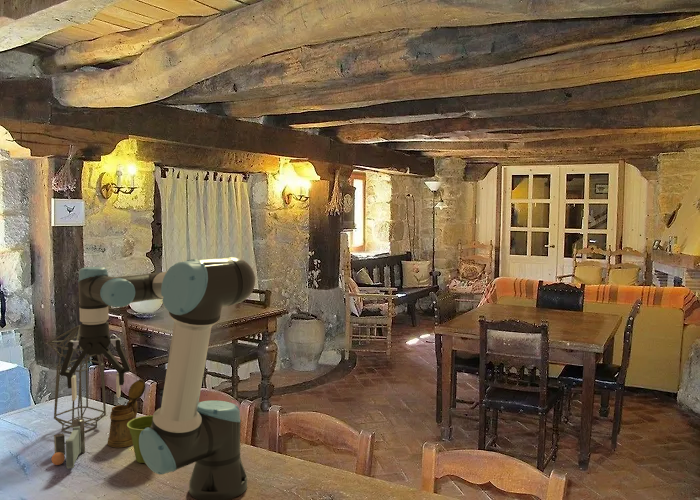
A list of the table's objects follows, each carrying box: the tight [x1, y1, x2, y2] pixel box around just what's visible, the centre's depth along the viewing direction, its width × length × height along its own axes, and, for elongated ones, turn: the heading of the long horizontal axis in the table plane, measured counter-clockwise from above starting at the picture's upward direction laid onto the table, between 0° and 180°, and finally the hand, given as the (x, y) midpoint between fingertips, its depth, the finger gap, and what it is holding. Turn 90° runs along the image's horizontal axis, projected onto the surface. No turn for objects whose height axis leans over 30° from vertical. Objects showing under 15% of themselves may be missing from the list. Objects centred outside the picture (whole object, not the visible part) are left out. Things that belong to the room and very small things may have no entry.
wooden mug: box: [107, 378, 146, 449], centre depth 194 cm, size 9×14×18 cm, turn 155°
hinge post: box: [73, 418, 86, 456], centre depth 184 cm, size 3×3×10 cm
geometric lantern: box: [45, 324, 107, 434], centre depth 202 cm, size 16×16×35 cm
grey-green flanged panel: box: [65, 426, 81, 469], centre depth 177 cm, size 11×2×8 cm, turn 13°
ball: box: [51, 452, 66, 466], centre depth 176 cm, size 4×4×4 cm
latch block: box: [53, 433, 66, 456], centre depth 183 cm, size 2×2×6 cm
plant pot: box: [127, 414, 154, 465], centre depth 180 cm, size 12×12×11 cm
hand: (96, 397), depth 174 cm, fingers open, 11 cm apart
